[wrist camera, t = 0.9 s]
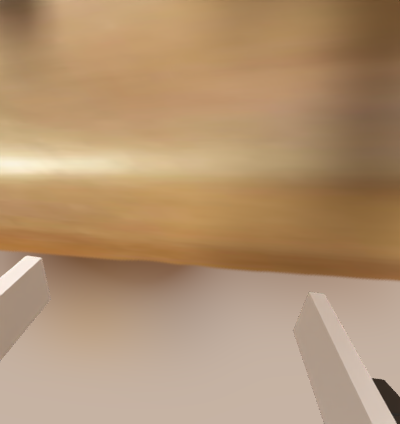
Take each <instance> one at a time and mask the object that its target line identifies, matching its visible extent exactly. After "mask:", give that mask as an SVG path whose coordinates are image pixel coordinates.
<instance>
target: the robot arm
mask: <svg viewBox="0 0 400 424" xmlns="http://www.w3.org/2000/svg"><path fill="white" fill-rule="evenodd" d="M50 300H51V297H50V293H49V288H48V284H47V279H46V275H45V271H44V266H43V261H42V258H39V257H31V256H26V257H24V258H23V259H22V260H21V261H20V262H18V263H17V264H16V265H15V266H14V267H12V268H11V269H10V270H9V271H8V272H6V273H5V274H4V275H3V276H2V277H0V361H1V360H2V358H3V357H4V356H5V355H6V353H7V352H8V351H9V350H10V349H11V347H12V346H13V345H14V343H15V342H16V341H17V340H18V339H19V337H20V336H21V335H22V334H23V333H24V332H25V330H26V329H27V328H28V326H29V325H30V324H31V323H32V322H33V321H34V319H35V318H36V317H37V316H38V314H39V313H40V312H41V311H42V309H43V308H44V307H45V306H46V304H47V303H48V302H49V301H50ZM293 331H294V334H295V337H296V340H297V344H298V346H299V350H300V353H301V356H302V359H303V362H304V364H305V367H306V370H307V373H308V377H309V380H310V383H311V386H312V389H313V392H314V395H315V398H316V401H317V404H318V407H319V410H320V413H321V415H322V419H323V422H324V424H400V397H399V396H398V394H397V393H396V392H395V391H394V390H393V389H392V388H391V387H390V386H389V385H388V384H387V383H386V382H385V380H382V379H374V378H371V376H370V375H369V373H368V371H367V369H366V367H365V366H364V364H363V362H362V360H361V358H360V357H359V355H358V353H357V351H356V349H355V348H354V346H353V344H352V342H351V340H350V339H349V337H348V335H347V333H346V331H345V330H344V328H343V326H342V324H341V322H340V321H339V319H338V317H337V315H336V313H335V312H334V310H333V308H332V306H331V304H330V303H329V301H328V299H327V297H326V295H325V294H322V293H315V292H309V293H308V295H307V298H306V300H305V303H304V305H303V307H302V310H301V312H300V315H299V318H298V320H297V322H296V325H295V327H294V330H293Z"/></svg>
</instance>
